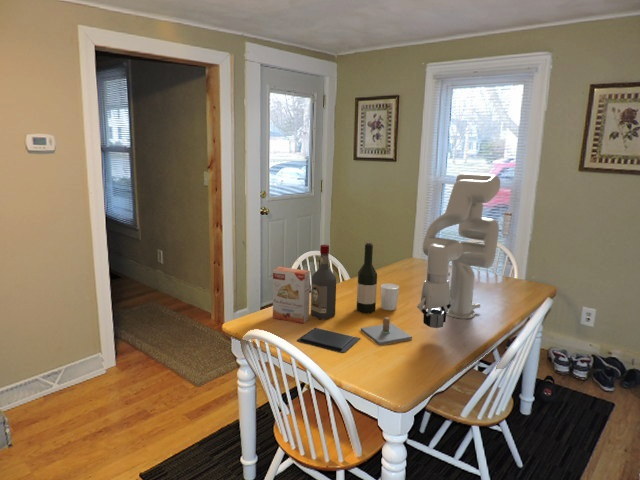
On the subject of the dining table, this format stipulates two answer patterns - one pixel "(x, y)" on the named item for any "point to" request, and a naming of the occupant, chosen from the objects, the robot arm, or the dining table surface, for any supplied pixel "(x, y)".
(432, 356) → the dining table surface
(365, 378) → the dining table surface
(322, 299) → the liquor
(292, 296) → the cracker box
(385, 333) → the post base
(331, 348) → the wallet
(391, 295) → the white cup
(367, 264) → the wine bottle
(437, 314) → the collar
